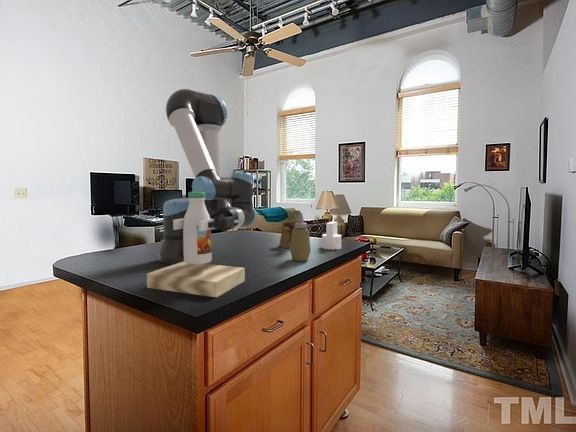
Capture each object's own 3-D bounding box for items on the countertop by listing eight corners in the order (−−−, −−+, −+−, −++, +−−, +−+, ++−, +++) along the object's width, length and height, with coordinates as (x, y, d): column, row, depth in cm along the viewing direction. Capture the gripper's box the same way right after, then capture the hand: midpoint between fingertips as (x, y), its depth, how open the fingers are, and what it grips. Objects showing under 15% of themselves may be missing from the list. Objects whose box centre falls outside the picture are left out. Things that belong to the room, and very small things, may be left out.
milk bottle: (186, 266, 90) (185, 192, 89) (181, 260, 97) (180, 191, 95) (214, 263, 94) (213, 192, 92) (208, 258, 101) (207, 191, 99)
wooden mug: (288, 250, 148) (289, 210, 147) (275, 245, 160) (276, 208, 159) (306, 249, 152) (306, 210, 151) (292, 244, 164) (292, 208, 163)
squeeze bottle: (310, 258, 133) (311, 213, 132) (310, 262, 125) (311, 215, 124) (290, 257, 134) (291, 212, 133) (288, 261, 126) (289, 214, 125)
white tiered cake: (325, 245, 163) (325, 221, 162) (343, 247, 159) (343, 222, 158) (319, 248, 155) (320, 222, 154) (338, 250, 151) (339, 224, 150)
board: (147, 287, 92) (146, 273, 92) (183, 273, 107) (182, 261, 107) (216, 297, 85) (216, 282, 85) (244, 280, 100) (244, 267, 100)
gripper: (256, 231, 108) (220, 241, 87) (202, 228, 115) (156, 237, 93) (256, 208, 108) (219, 212, 86) (202, 206, 114) (155, 210, 93)
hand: (187, 225), depth 90 cm, fingers closed on milk bottle, 7 cm apart
